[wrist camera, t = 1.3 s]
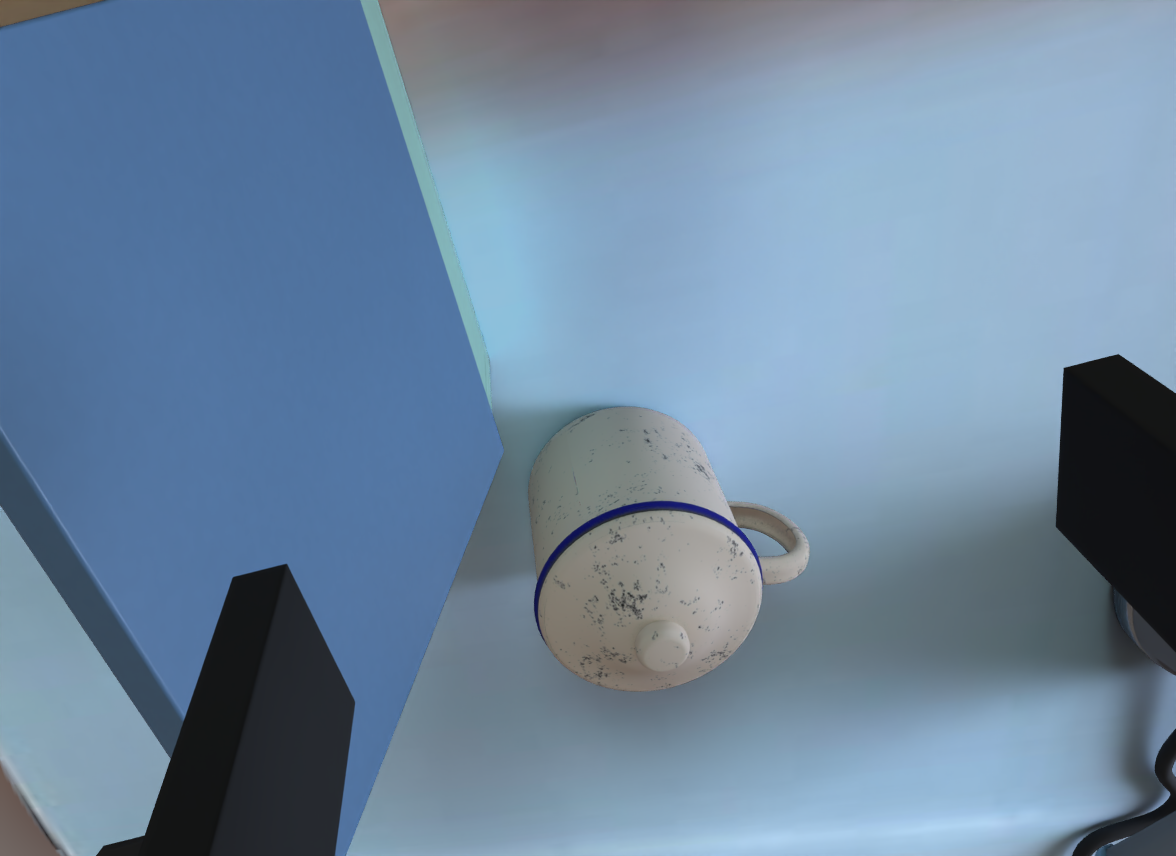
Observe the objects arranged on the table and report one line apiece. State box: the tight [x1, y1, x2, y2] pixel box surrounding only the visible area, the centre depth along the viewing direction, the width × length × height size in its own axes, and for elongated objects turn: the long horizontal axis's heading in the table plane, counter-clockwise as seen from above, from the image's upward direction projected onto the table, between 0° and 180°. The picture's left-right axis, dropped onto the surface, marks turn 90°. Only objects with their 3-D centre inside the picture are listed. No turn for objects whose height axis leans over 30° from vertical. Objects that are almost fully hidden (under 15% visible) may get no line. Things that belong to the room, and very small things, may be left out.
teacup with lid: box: [528, 407, 810, 692], centre depth 39 cm, size 12×9×12 cm
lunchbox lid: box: [0, 0, 504, 856], centre depth 22 cm, size 17×17×1 cm
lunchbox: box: [360, 0, 492, 411], centre depth 33 cm, size 17×17×7 cm
